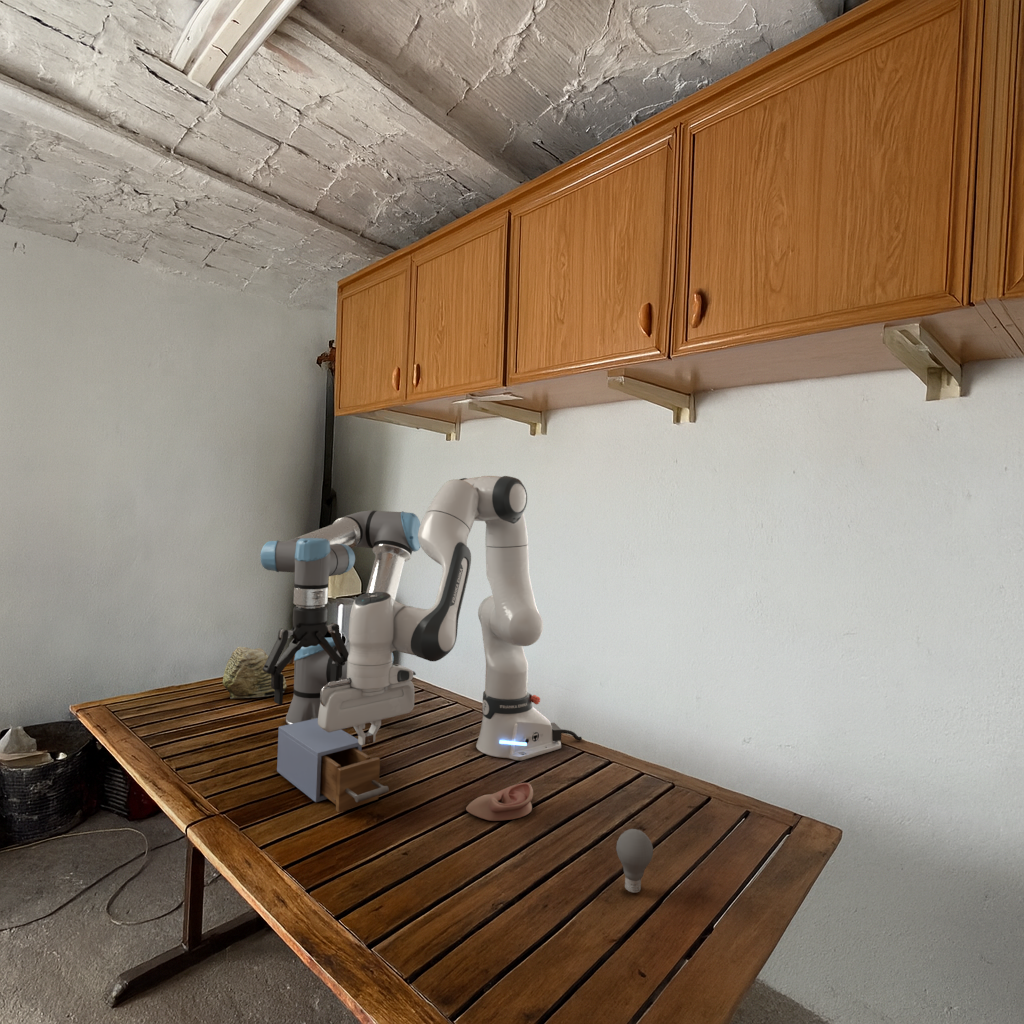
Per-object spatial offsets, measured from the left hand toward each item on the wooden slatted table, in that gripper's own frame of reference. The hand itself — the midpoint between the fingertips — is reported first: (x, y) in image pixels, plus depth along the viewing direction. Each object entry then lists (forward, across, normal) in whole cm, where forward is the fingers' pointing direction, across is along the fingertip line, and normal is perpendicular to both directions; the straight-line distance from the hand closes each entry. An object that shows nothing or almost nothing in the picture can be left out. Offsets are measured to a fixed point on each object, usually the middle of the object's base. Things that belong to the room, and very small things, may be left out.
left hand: (307, 697), depth 146 cm
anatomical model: (+17, +23, -42) cm, 51 cm away
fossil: (+17, +12, +60) cm, 64 cm away
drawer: (+16, 0, -18) cm, 24 cm away
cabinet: (+17, 0, -6) cm, 18 cm away
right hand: (+2, 0, -26) cm, 27 cm away
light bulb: (+17, +21, -76) cm, 81 cm away
